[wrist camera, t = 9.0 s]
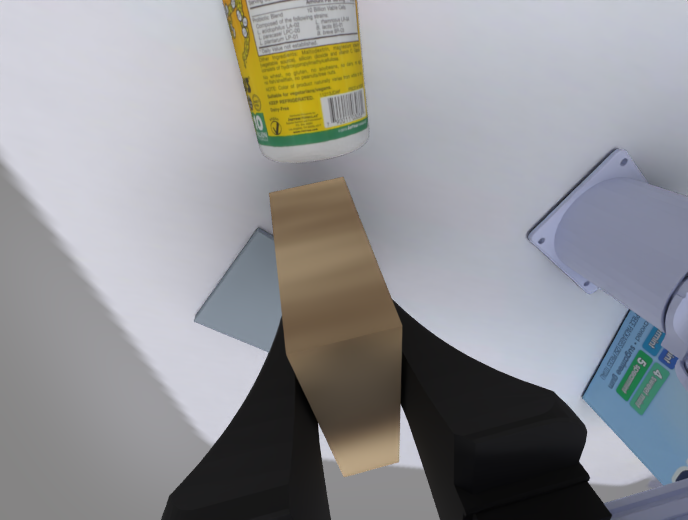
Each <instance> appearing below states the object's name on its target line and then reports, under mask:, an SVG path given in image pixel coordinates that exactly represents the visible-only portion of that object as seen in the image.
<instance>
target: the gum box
mask: <svg viewBox="0 0 688 520" xmlns="http://www.w3.org/2000/svg"><path fill="white" fill-rule="evenodd" d="M665 335H666V334H665V333H663V332H662V331H661V330H659V329H658V328H656V327H655V326H653V325H652V324H650V323H649V322H648V321H646V320H645V319H643V318H642V317H640V316H639V315H638V314H636V313H635V312H633V311H632V310H630V312H629V313H628V315H627V317H626V319H625V321H624V322H623V324H622V326H621V328H620V330H619V332H618V334H617V335H616V337H615V339H614V341H613V343H612V344H611V346H610V348H609V350H608V352H607V354H606V356H605V357H604V359H603V361H602V363H601V365H600V367H599V368H598V370H597V372H596V374H595V376H594V378H593V379H592V381H591V383H590V385H589V387H588V389H587V390H586V392H585V394H584V396H583V397H582V398H583V399H584V400H585V401H586V402H587V403H588V405H589V406H590V407H591V408H592V409H593V410H594V411H595V412H596V413H597V414H598V415H599V416H600V417H601V418H602V420H603V421H604V422H605V423H606V424H607V425H608V426H609V427H610V428H611V429H612V430H613V431H614V433H615V434H616V435H617V436H618V437H619V438H620V439H621V440H622V441H623V442H624V443H625V444H626V446H627V447H628V448H629V449H630V450H631V451H632V452H633V453H634V454H635V455H636V456H637V457H638V459H639V460H640V461H641V462H642V463H643V464H644V465H645V466H646V467H647V468H648V469H649V470H650V472H651V473H652V474H653V475H654V476H655V477H656V478H657V479H658V480H659V481H660V482H661V483H662V485H667V484H670V483H674V482H677V481H680V480H684V479H687V478H688V392H687V390H686V389H685V388H684V387H683V385H682V384H681V382H680V381H679V379H678V377H677V375H676V372H675V365H676V362H677V360H678V359H679V358H677V357H676V356H674V355H673V354H672V353H670V352H669V351H668V350H666V349H665V348H664V347H662V346H661V343H662V341H663V340H664V337H665Z"/></svg>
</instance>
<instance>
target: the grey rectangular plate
mask: <svg viewBox="0 0 688 520" xmlns="http://www.w3.org/2000/svg"><path fill="white" fill-rule="evenodd" d="M281 316H282V311H281V301H280V292H279V282H278V273H277V263H276V254H275V244H274V236H272V235H270V234H269V233H267V232H265V231H263V230H262V229H260V228H258V229H257V230H256V231H255V233H254V234H253V236H252V237H251V238H250V240H249V241H248V243H247V244H246V245H245V247H244V248H243V250H242V251H241V253H240V254H239V255H238V257H237V258H236V260H235V261H234V262H233V264H232V265H231V267H230V268H229V269H228V271H227V272H226V274H225V275H224V276H223V278H222V279H221V281H220V282H219V284H218V285H217V286H216V288H215V289H214V291H213V292H212V293H211V295H210V296H209V298H208V299H207V300H206V302H205V303H204V305H203V306H202V308H201V309H200V310H199V312H198V313H197V315H196V316H195V319H194V322H196V323H199V324H201V325H204V326H206V327H208V328H211V329H213V330H216V331H218V332H221V333H223V334H225V335H228V336H230V337H233V338H235V339H238V340H240V341H242V342H245V343H247V344H250V345H252V346H254V347H257V348H259V349H262V350H264V351H267V352H269V351H270V348H271V346H272V343H273V341H274V338H275V335H276V332H277V329H278V326H279V323H280V319H281Z"/></svg>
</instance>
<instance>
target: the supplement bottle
mask: <svg viewBox="0 0 688 520" xmlns="http://www.w3.org/2000/svg"><path fill="white" fill-rule="evenodd" d="M223 5H224V9H225V13H226V16H227V20H228V24H229V28H230V32H231V36H232V40H233V44H234V48H235V52H236V56H237V60H238V64H239V68H240V72H241V76H242V78H243V84H244V88H245V91H246V95H247V99H248V103H249V107H250V111H251V115H252V119H253V123H254V127H255V131H256V135H257V139H258V143H259V146H260V149H261V152H262V154H263V155H264V156H265V157H267V158H268V159H270V160H272V161H276V162H280V163H303V162H312V161H319V160H325V159H330V158H334V157H338V156H342V155H345V154H348V153H350V152H353V151H355V150H357V149H359V148H360V147H362V146H363V145H364V144H365V143H366V141H367V140H368V137H369V125H368V114H367V103H366V92H365V81H364V70H363V59H362V48H361V37H360V26H359V15H358V4H357V0H223Z"/></svg>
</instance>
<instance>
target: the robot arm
mask: <svg viewBox="0 0 688 520" xmlns="http://www.w3.org/2000/svg"><path fill="white" fill-rule="evenodd" d="M621 161H622V162H621ZM528 239H529V241H530V242H532V243H533V244H534V245H535V246H536V247H537V248H538V249H539V250H540V251H541V252H542V253H544V254H545V255H546V256H547V257H548V258H549V259H550V260H551V261H552V262H553V263H554V264H555V265H557V266H558V267H559V268H560V269H561V270H562V271H563V272H564V273H565V274H566V275H567V276H569V277H570V278H571V279H572V280H573V281H574V282H575V283H576V284H577V285H578V286H579V287H581V288H582V289H583V290H584V291H585V292H586V293H588V294H591V293H593V292H595V291H596V290H597V289H598V288H600V289H601V290H603V291H604V292H606V293H607V294H609V295H610V296H612V297H613V298H614V299H616V300H617V301H619V302H620V303H622V304H623V305H625V306H626V307H627V308H629V309H630V310H632V311H633V312H635V313H636V314H638V315H639V316H640V317H642V318H643V319H645V320H646V321H648V322H649V323H650V324H652V325H653V326H655V327H656V328H658V329H659V330H661V331H662V332H663V333H665V334H666V335H665V337H664V340H663V341H662V343H661V346H662V347H664V348H665V349H666V350H668V351H669V352H670V353H672V354H673V355H674V356H676V357H677V358H679V359H678V360H677V362H676V365H675V372H676V375H677V377H678V379H679V381H680V382H681V384H682V385H683V387H684V388H685V389H686V390H687V392H688V196H685V195H682V194H679V193H676V192H673V191H670V190H667V189H663V188H660V187H657V186H654V185H651V184H649V183H648V181H647V180H646V178H645V177H644V176H643V174H642V173H641V171H640V170H639V168H638V167H637V165H636V164H635V163H634V161H633V160H632V158H631V157H630V155H629V154H628V152H627V151H626V150H623V149H617V150H615V151H614V152H612V153H611V154H610V155H609V156H608V157H607V158H606V159H605V160H604V161H603V162H602V163H601V164H600V165H599V166H598V167H597V168H596V169H595V170H594V171H593V172H592V173H591V174H590V175H589V176H588V177H587V178H586V179H585V180H584V181H583V182H582V183H581V184H580V185H579V186H578V187H577V188H576V189H575V190H574V191H573V192H571V193H570V194H569V195H568V196H567V197H566V198H565V199H564V200H563V201H562V202H561V203H560V204H559V205H558V206H557V207H556V208H555V209H554V210H553V211H552V212H551V213H550V214H549V215H548V216H547V217H546V218H545V219H544V220H543V221H542V222H541V223H540V224H539V225H538V226H537V227H536V228H535V229H534V230H533V231H532V232H531V233H530V234H529V236H528ZM539 239H541V240H540V241H539ZM392 301H393V303H394V306H395V308H396V311H397V313H398V316H399V318H400V321H401V324H402V361H401V401H400V404H401V406H402V408H403V410H404V413H405V415H406V418H407V420H408V423H409V426H410V429H411V432H412V435H413V438H414V441H415V444H416V447H417V450H418V453H419V456H420V459H421V462H422V465H423V468H424V471H425V474H426V477H427V479H428V483H429V486H430V489H431V492H432V495H433V499H434V502H435V505H436V508H437V511H438V514H439V517H440V520H688V478H687V479H684V480H680V481H677V482H674V483H670V484H667V485H663V486H660V487H657V488H653V489H650V490H647V491H644V492H640V493H637V494H633V495H630V496H626V497H623V498H620V499H616V500H613V501H610V502H606V503H603V502H602V501H601V499H600V498H599V497H598V495H597V494H596V493H595V491H594V490H593V489H592V487H591V486H590V485H589V483H588V482H587V481H589V479H590V477H589V474H588V473H587V472H586V470H585V469H584V468H583V466H582V465H581V464H580V462H579V460H580V457H581V454H582V451H583V448H584V446H585V443H586V437H587V429H586V427H585V425H584V423H583V422H582V421H581V420H580V419H579V418H578V416H577V415H576V414H575V413H574V412H573V411H572V409H571V408H570V407H569V406H568V405H567V404H566V403H565V402H564V401H563V400H562V399H561V398H559V397H558V396H557V395H556V394H555V392H553V391H551V390H548V389H545V388H542V387H539V386H537V385H534V384H531V383H528V382H525V381H522V380H520V379H517V378H514V377H512V376H510V375H507V374H505V373H503V372H500V371H498V370H496V369H493V368H491V367H489V366H487V365H485V364H483V363H481V362H479V361H477V360H475V359H473V358H471V357H469V356H467V355H466V354H464V353H462V352H460V351H459V350H457V349H455V348H454V347H452V346H451V345H449V344H447V343H446V342H444V341H443V340H441V339H440V338H438V337H437V336H436V335H434V334H433V333H431V332H430V331H429V330H427V329H426V328H425V327H423V326H422V325H421V324H420V323H418V322H417V321H416V320H415V319H414V318H412V317H411V316H410V315H409V314H408V313H407V312H405V311H404V310H403V309H402V308H401V307H400V306H399V305H398V304H397V303H396V302H395V301H394V300H393V299H392ZM161 520H331V517H330V511H329V505H328V499H327V492H326V485H325V478H324V472H323V465H322V458H321V451H320V443H319V432H318V421H317V419H316V417H315V415H314V413H313V411H312V408H311V406H310V404H309V402H308V400H307V398H306V396H305V394H304V391H303V389H302V387H301V385H300V383H299V381H298V379H297V377H296V374H295V372H294V370H293V368H292V366H291V364H290V362H289V360H288V357H287V355H286V348H285V339H284V330H283V320H282V316H281V319H280V323H279V326H278V329H277V332H276V335H275V338H274V341H273V343H272V346H271V348H270V351H269V353H268V356H267V358H266V360H265V363H264V365H263V367H262V369H261V371H260V373H259V375H258V377H257V379H256V381H255V383H254V385H253V387H252V389H251V390H250V392H249V394H248V396H247V397H246V399H245V401H244V403H243V404H242V406H241V407H240V409H239V410H238V412H237V413H236V415H235V416H234V418H233V420H232V421H231V423H230V424H229V425H228V427H227V428H226V430H225V431H224V432H223V434H222V435H221V436H220V438H219V439H218V440H217V441H216V443H215V444H214V445H213V447H212V448H211V449H210V451H209V452H208V453H207V454H206V456H205V457H204V458H203V459H202V461H201V462H200V463H199V464H198V465H197V466H196V467H195V469H194V470H193V471H192V472H191V473H190V474H189V475H188V476H187V477H186V479H185V480H184V481H183V482H182V483H181V484H180V485H179V486H178V487H177V488H176V490H175V491H174V492H173V493H172V494H171V495H170V496H169V499H168V502H167V505H166V507H165V510H164V513H163V516H162V519H161Z"/></svg>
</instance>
